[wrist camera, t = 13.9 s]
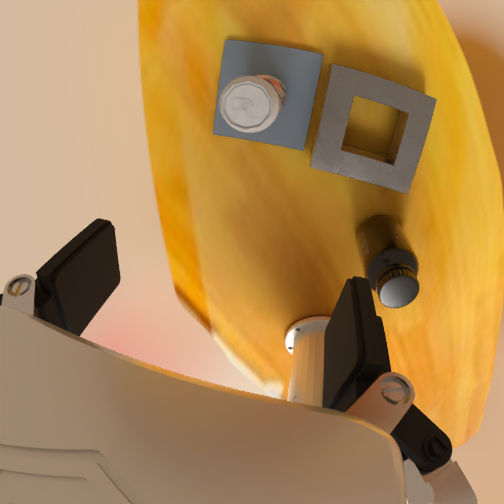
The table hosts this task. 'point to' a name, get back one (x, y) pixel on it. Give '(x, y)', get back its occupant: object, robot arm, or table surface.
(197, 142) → the table surface
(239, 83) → the beer can
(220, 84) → the mat
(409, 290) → the supplement bottle
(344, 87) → the gray square frame
